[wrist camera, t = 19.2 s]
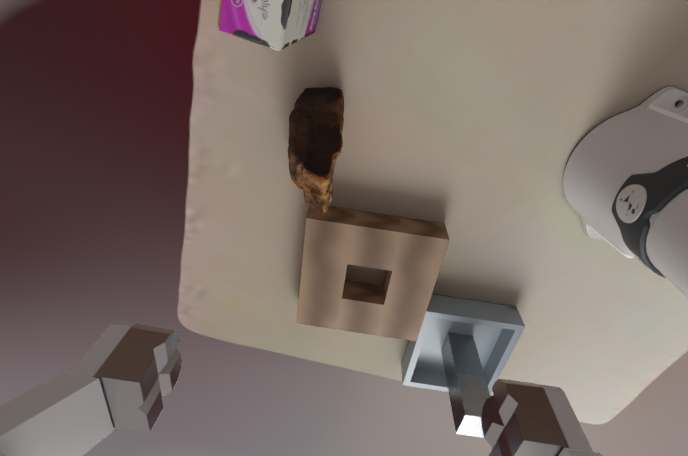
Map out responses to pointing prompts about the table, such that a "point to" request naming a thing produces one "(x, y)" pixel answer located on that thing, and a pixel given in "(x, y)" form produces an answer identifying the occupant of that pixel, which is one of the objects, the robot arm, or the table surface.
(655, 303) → the table surface
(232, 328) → the table surface
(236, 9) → the candy bar box
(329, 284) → the block
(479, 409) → the pin
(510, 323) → the tray
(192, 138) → the table surface
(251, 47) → the table surface
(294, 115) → the decorative rock
